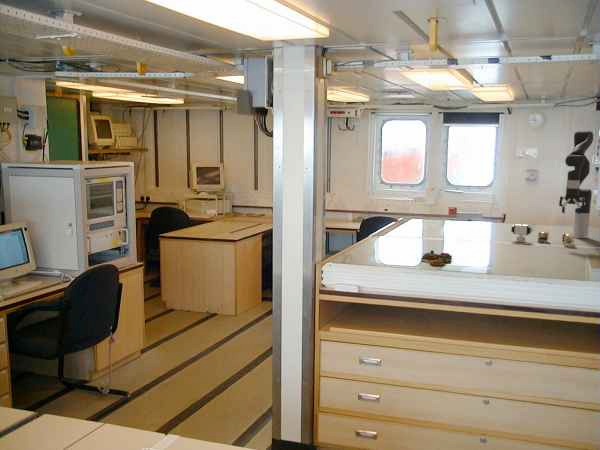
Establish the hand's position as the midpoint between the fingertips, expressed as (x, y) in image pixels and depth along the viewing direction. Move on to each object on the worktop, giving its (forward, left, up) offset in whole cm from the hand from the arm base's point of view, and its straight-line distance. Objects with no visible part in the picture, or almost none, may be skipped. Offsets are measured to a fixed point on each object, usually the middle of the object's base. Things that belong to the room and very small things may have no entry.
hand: (571, 213), depth 379 cm
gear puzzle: (+95, -56, -21) cm, 112 cm away
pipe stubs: (-9, -9, -21) cm, 24 cm away
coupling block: (0, 0, -21) cm, 21 cm away
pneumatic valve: (-3, -29, -21) cm, 36 cm away
